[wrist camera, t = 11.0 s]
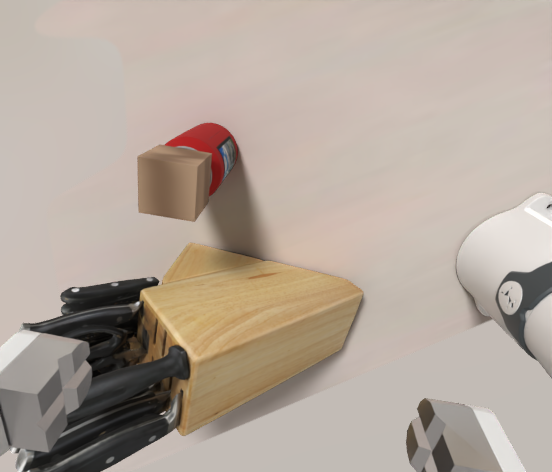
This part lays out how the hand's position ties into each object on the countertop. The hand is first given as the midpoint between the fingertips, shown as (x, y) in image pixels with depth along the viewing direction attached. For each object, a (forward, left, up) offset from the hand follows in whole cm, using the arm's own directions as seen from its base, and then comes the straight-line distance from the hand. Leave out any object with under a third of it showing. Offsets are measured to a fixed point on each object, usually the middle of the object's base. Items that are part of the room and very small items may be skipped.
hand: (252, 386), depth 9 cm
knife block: (+5, +23, -39) cm, 46 cm away
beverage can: (+10, +4, -39) cm, 41 cm away
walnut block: (+10, +4, -27) cm, 29 cm away
